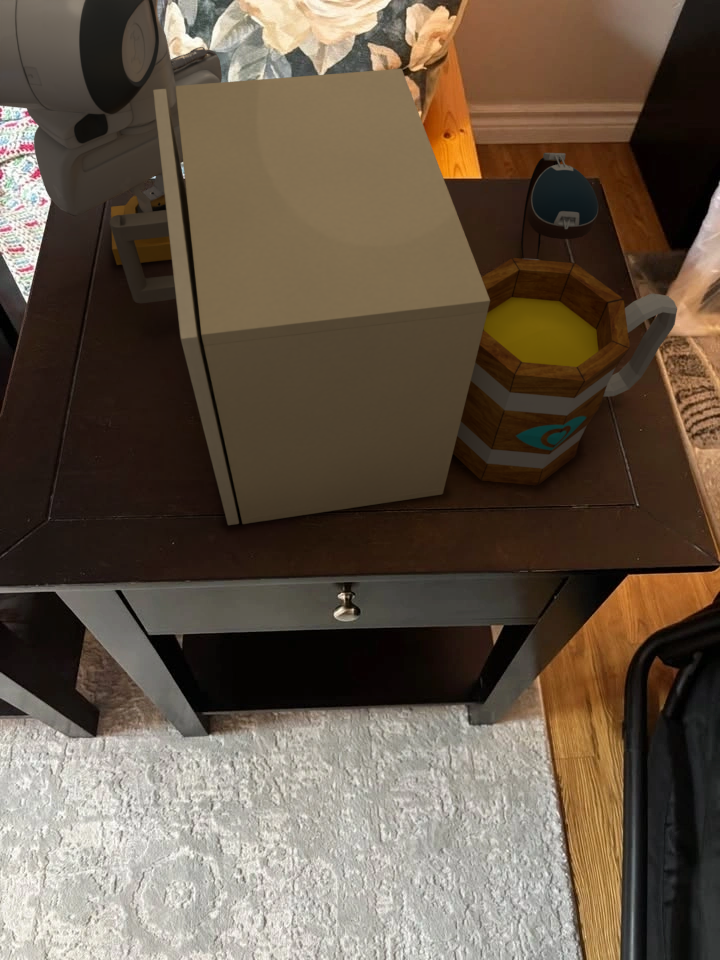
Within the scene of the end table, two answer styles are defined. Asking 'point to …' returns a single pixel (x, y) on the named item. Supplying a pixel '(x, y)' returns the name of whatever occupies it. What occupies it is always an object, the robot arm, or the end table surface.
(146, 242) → the switch box
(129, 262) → the door
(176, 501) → the end table surface
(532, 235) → the headphones
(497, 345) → the mug
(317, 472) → the cupboard
